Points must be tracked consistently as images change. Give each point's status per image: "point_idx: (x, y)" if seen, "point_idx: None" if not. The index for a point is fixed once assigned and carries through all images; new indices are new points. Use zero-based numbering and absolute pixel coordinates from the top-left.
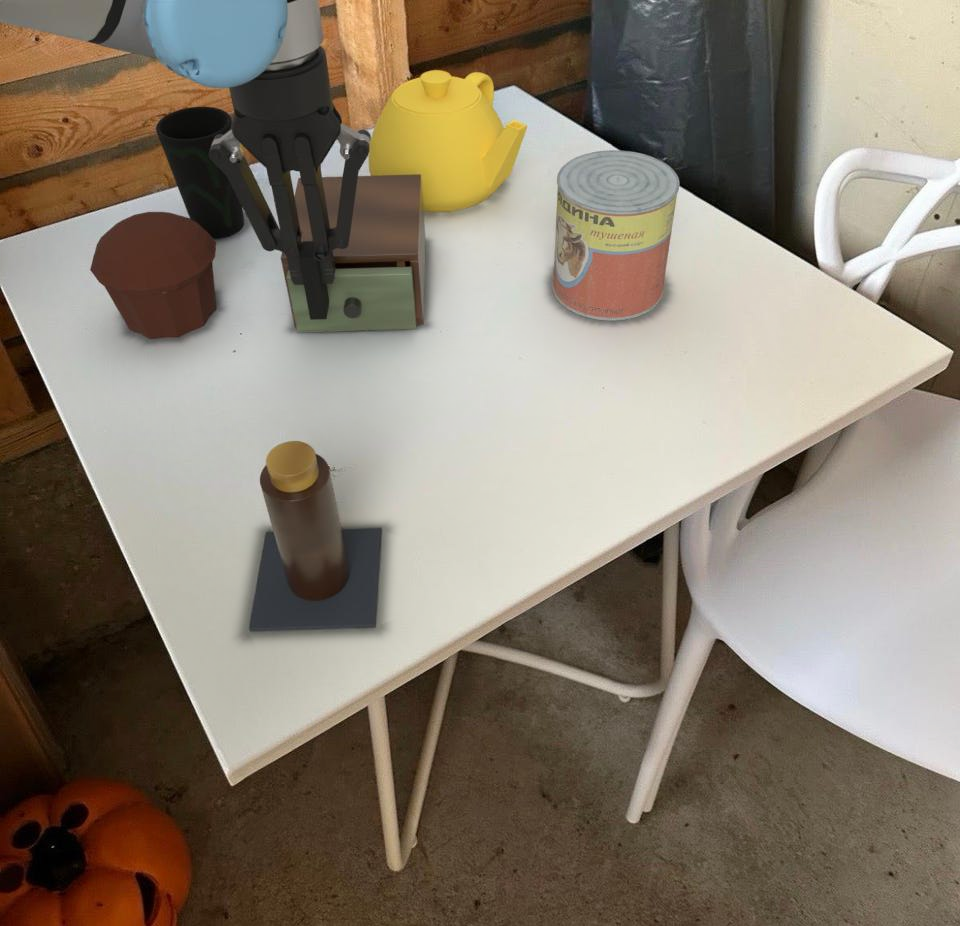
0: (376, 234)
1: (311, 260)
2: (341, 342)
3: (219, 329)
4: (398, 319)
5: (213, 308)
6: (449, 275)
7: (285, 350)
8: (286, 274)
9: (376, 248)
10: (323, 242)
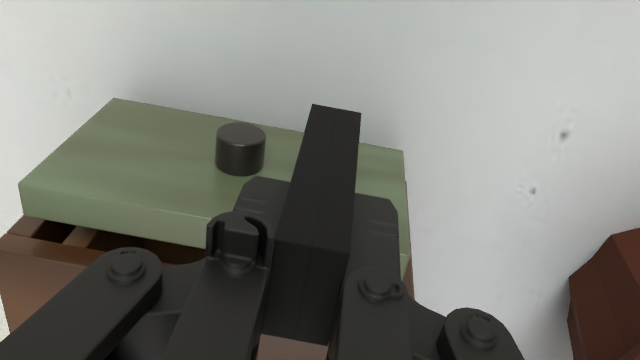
0: None
1: (297, 236)
2: (302, 108)
3: (578, 216)
4: (141, 117)
5: (578, 277)
6: None
7: (440, 110)
8: (406, 282)
9: None
10: (212, 290)
